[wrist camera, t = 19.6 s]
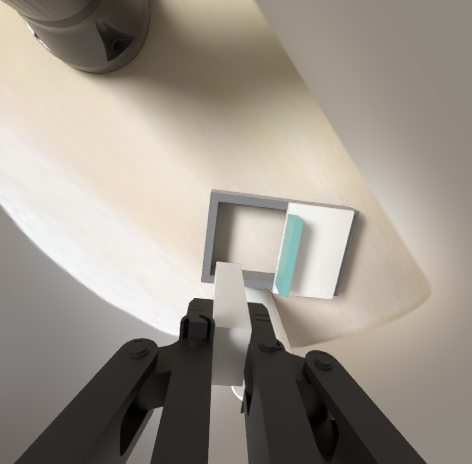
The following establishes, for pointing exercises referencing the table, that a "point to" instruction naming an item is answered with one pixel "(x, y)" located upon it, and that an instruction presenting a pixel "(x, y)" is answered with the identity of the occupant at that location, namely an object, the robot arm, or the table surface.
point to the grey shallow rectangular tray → (254, 277)
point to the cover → (311, 250)
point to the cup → (267, 300)
